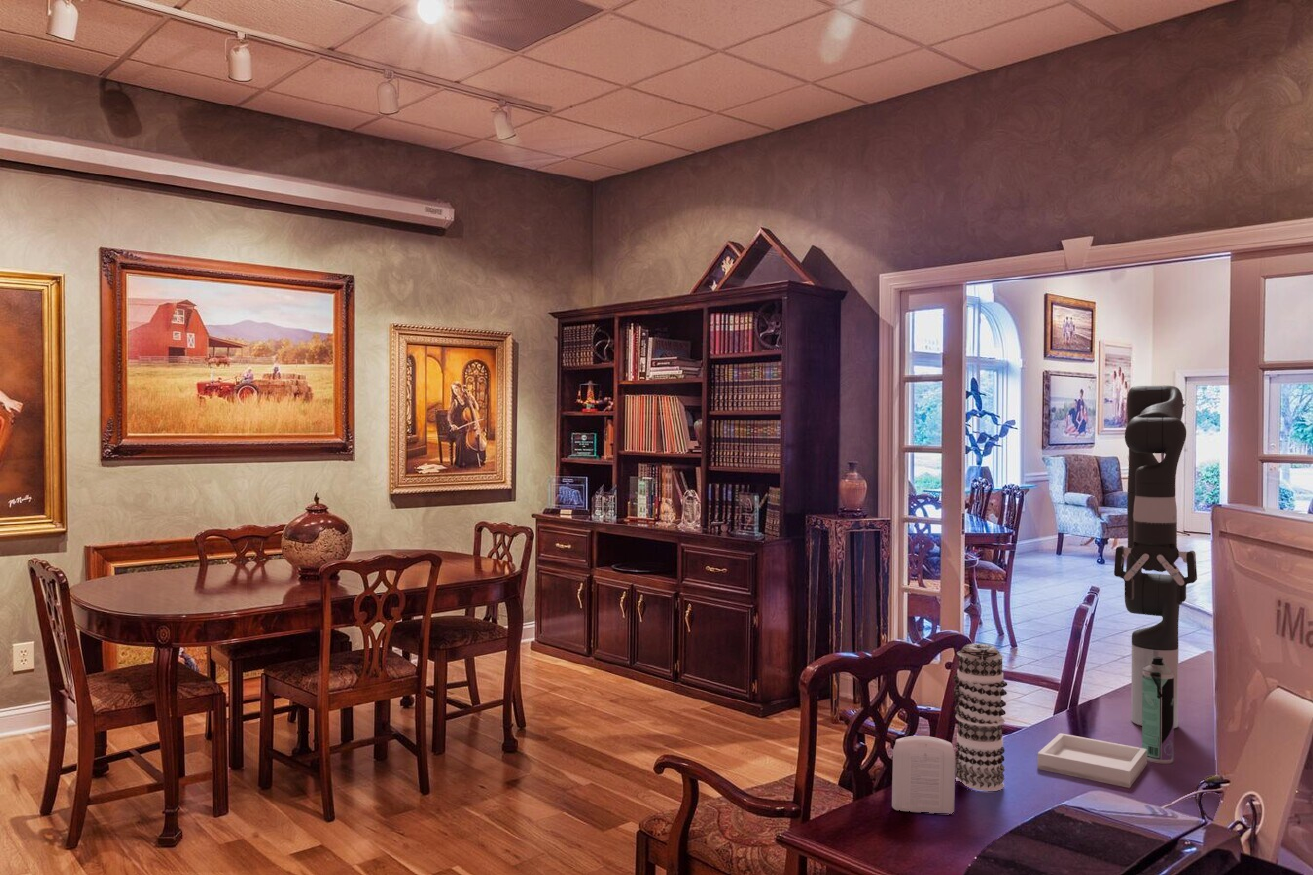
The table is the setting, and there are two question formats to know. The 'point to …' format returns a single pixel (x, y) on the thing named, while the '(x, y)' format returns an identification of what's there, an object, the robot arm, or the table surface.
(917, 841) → the table surface
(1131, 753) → the tray
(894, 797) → the white rounded block
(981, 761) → the decorative candle
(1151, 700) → the spray can
